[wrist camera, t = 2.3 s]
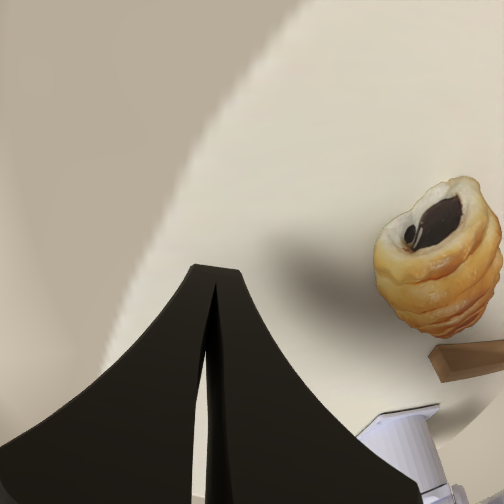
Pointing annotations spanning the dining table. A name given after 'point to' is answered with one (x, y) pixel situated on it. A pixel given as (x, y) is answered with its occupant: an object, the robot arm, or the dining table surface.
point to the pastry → (441, 259)
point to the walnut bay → (467, 360)
